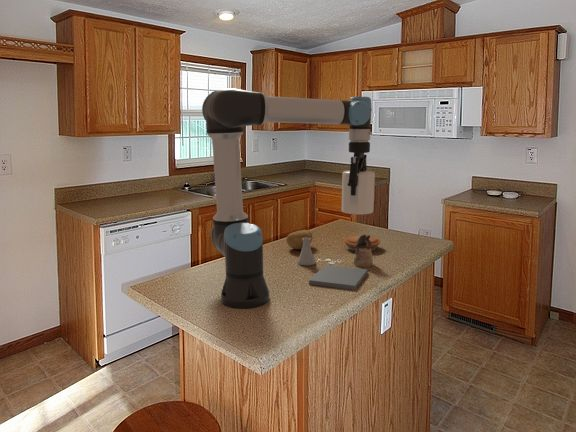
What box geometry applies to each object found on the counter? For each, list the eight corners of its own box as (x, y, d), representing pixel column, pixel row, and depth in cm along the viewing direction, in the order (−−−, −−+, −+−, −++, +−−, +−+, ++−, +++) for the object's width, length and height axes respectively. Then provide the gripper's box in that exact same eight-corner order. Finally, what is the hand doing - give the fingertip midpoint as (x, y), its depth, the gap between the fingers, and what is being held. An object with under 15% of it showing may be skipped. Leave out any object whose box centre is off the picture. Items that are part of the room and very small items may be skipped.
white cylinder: (369, 215, 170) (370, 174, 167) (338, 213, 174) (339, 172, 171) (375, 209, 180) (377, 171, 177) (346, 207, 184) (347, 169, 181)
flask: (314, 266, 184) (314, 241, 182) (295, 265, 186) (295, 240, 184) (317, 261, 191) (317, 236, 189) (299, 260, 192) (299, 236, 190)
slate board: (354, 290, 159) (354, 285, 159) (309, 284, 165) (309, 280, 165) (367, 273, 175) (367, 269, 175) (325, 268, 181) (325, 264, 181)
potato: (318, 246, 212) (318, 229, 210) (299, 254, 201) (299, 235, 199) (301, 243, 218) (300, 226, 216) (281, 250, 207) (281, 232, 205)
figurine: (361, 260, 191) (362, 231, 188) (376, 264, 186) (377, 234, 183) (350, 264, 186) (350, 234, 183) (365, 268, 181) (365, 237, 178)
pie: (356, 242, 219) (356, 231, 218) (386, 247, 209) (387, 236, 208) (336, 249, 207) (337, 238, 206) (368, 256, 197) (368, 244, 196)
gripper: (362, 143, 160) (360, 207, 164) (376, 140, 182) (374, 197, 186) (340, 142, 163) (338, 206, 167) (357, 139, 184) (355, 196, 189)
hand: (357, 201), depth 176 cm, fingers closed on white cylinder, 11 cm apart
